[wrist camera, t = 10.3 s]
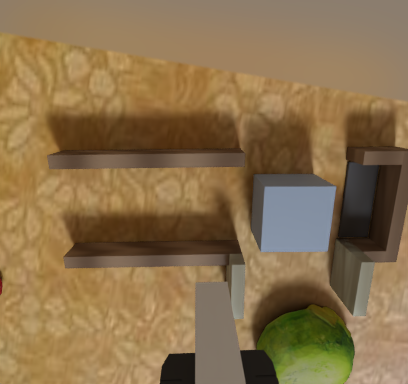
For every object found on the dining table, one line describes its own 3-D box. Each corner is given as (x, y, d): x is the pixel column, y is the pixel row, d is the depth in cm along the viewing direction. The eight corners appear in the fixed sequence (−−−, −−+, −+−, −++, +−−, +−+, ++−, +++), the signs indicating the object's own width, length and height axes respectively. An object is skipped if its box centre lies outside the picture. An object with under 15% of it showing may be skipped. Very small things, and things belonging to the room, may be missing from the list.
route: (83, 290, 32) (62, 322, 27) (62, 150, 27) (34, 159, 23) (371, 284, 32) (401, 315, 28) (395, 146, 28) (436, 154, 23)
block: (250, 229, 30) (260, 251, 26) (253, 173, 29) (264, 186, 24) (307, 228, 30) (327, 251, 26) (313, 173, 29) (336, 186, 24)
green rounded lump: (278, 289, 33) (291, 320, 28) (361, 317, 34) (387, 352, 29) (237, 364, 36) (243, 403, 31) (315, 387, 37) (332, 429, 32)
